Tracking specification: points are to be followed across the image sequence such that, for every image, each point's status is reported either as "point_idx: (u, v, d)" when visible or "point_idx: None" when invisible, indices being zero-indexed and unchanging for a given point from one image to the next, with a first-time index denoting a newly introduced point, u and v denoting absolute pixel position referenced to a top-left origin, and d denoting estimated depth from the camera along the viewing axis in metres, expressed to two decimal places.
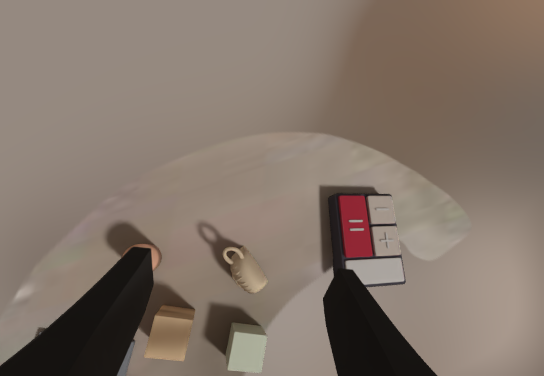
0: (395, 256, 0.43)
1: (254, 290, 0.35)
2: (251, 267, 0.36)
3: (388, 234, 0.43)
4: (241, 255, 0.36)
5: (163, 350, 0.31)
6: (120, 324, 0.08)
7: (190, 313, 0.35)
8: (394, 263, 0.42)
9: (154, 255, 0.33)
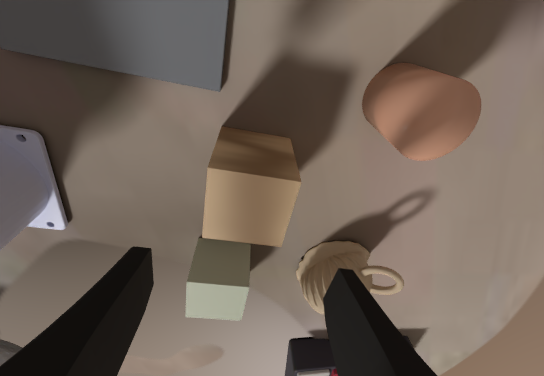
0: None
1: (312, 305, 0.21)
2: None
3: None
4: (377, 292, 0.19)
5: (222, 203, 0.13)
6: (120, 324, 0.08)
7: None
8: None
9: (433, 156, 0.13)
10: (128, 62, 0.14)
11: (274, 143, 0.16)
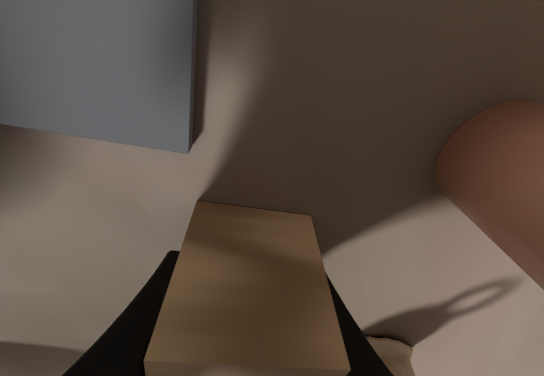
0: None
1: None
2: None
3: None
4: None
5: None
6: None
7: None
8: None
9: None
10: (6, 105, 0.07)
11: (286, 235, 0.09)
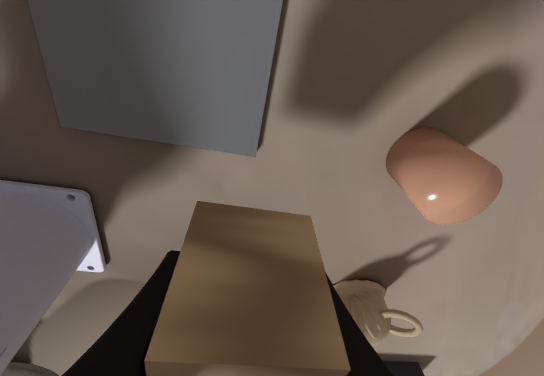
0: None
1: None
2: None
3: None
4: (396, 334, 0.21)
5: None
6: None
7: None
8: None
9: (456, 221, 0.14)
10: (174, 135, 0.15)
11: (287, 235, 0.09)
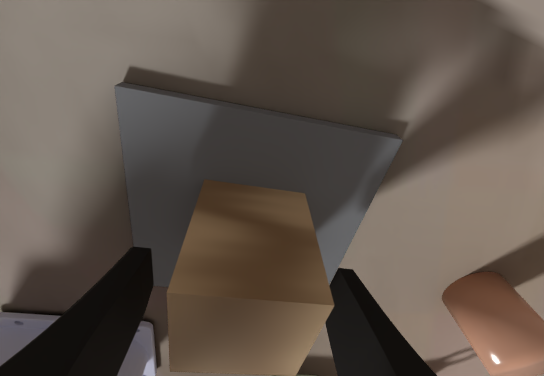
0: None
1: None
2: None
3: None
4: None
5: (199, 334, 0.08)
6: (120, 324, 0.08)
7: None
8: None
9: None
10: None
11: (283, 207, 0.11)
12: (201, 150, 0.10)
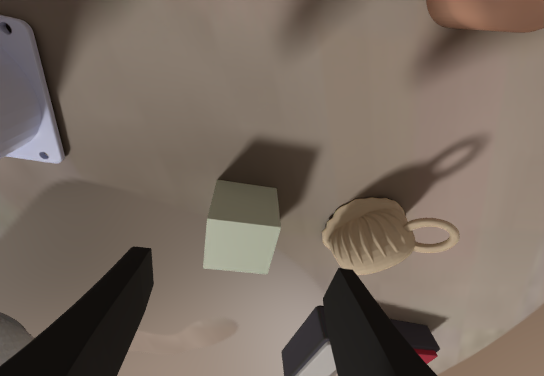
0: None
1: (346, 264, 0.18)
2: None
3: None
4: (423, 250, 0.17)
5: None
6: (120, 324, 0.08)
7: None
8: None
9: (536, 27, 0.10)
10: None
11: None
12: None
